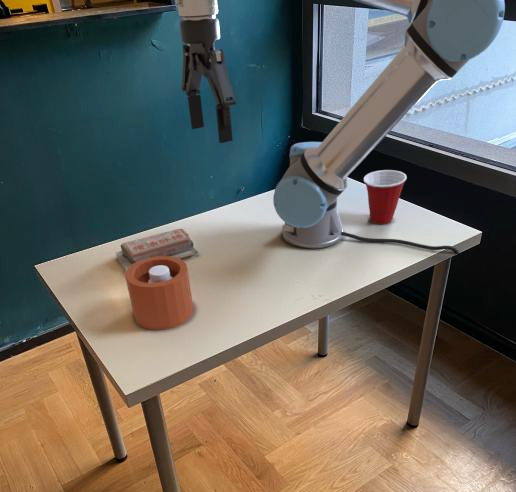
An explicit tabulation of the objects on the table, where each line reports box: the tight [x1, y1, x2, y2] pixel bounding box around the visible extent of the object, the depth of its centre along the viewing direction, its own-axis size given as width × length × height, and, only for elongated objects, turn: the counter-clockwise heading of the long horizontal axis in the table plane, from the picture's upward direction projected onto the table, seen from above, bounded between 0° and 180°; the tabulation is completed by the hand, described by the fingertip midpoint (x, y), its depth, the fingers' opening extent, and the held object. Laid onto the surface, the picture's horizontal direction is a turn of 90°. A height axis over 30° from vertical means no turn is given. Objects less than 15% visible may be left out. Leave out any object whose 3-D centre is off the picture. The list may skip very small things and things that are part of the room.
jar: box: [124, 256, 194, 331], centre depth 104 cm, size 12×12×10 cm
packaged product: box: [114, 228, 199, 272], centre depth 125 cm, size 18×5×10 cm
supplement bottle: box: [148, 265, 172, 283], centre depth 104 cm, size 5×5×10 cm
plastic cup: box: [363, 169, 408, 225], centre depth 135 cm, size 11×11×12 cm
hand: (211, 134), depth 110 cm, fingers open, 13 cm apart
